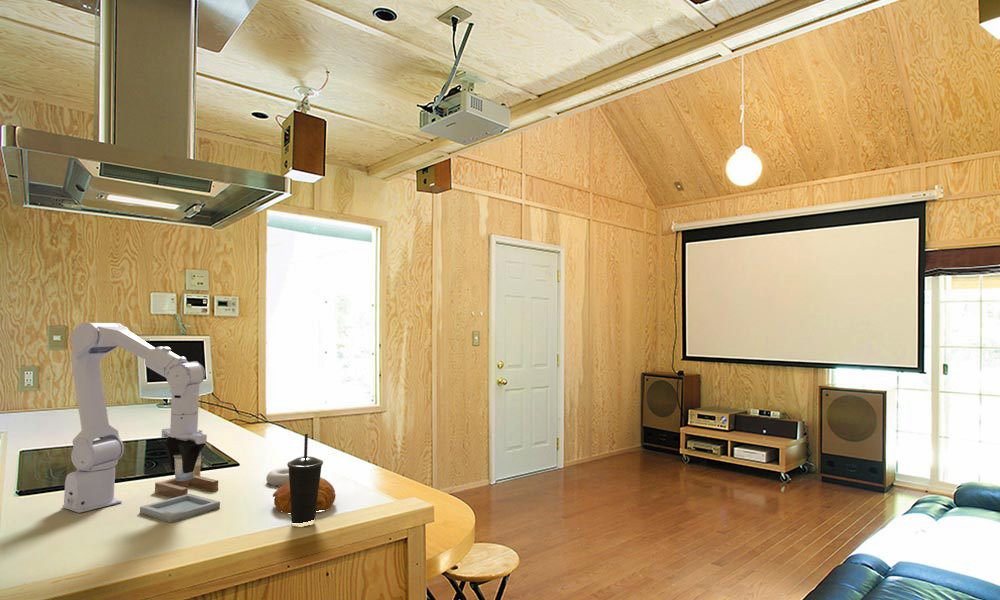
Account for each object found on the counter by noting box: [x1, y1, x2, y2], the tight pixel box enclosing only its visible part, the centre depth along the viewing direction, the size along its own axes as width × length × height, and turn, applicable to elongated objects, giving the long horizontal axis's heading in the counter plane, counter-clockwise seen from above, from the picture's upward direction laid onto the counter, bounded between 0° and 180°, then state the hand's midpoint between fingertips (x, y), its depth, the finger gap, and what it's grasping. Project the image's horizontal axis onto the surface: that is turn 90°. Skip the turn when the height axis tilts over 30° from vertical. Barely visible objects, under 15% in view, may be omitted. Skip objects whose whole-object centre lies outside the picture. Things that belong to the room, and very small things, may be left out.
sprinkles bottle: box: [194, 428, 203, 476], centre depth 165 cm, size 5×5×13 cm
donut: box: [266, 467, 289, 487], centre depth 161 cm, size 10×4×10 cm
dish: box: [139, 493, 221, 524], centre depth 136 cm, size 12×12×2 cm
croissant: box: [272, 476, 336, 514], centre depth 141 cm, size 14×16×8 cm
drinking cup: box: [286, 433, 324, 524], centre depth 129 cm, size 8×8×20 cm
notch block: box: [154, 475, 219, 498], centre depth 151 cm, size 10×12×2 cm
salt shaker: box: [173, 452, 194, 481], centre depth 136 cm, size 4×4×6 cm
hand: (182, 470), depth 136 cm, fingers closed on salt shaker, 4 cm apart
